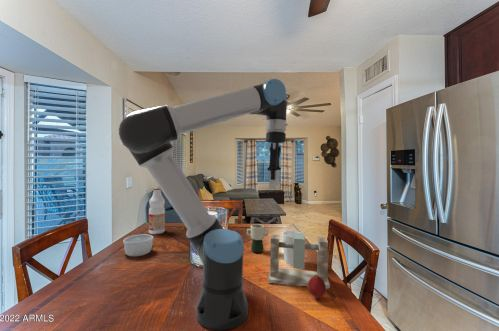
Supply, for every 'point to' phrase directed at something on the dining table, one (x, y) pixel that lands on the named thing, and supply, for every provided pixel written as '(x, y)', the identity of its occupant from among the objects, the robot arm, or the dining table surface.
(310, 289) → the onion
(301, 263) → the grey u-shaped block
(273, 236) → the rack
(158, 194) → the fruit juice
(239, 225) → the dining table surface
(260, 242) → the character mug
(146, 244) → the ramekin
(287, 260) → the foam cup
